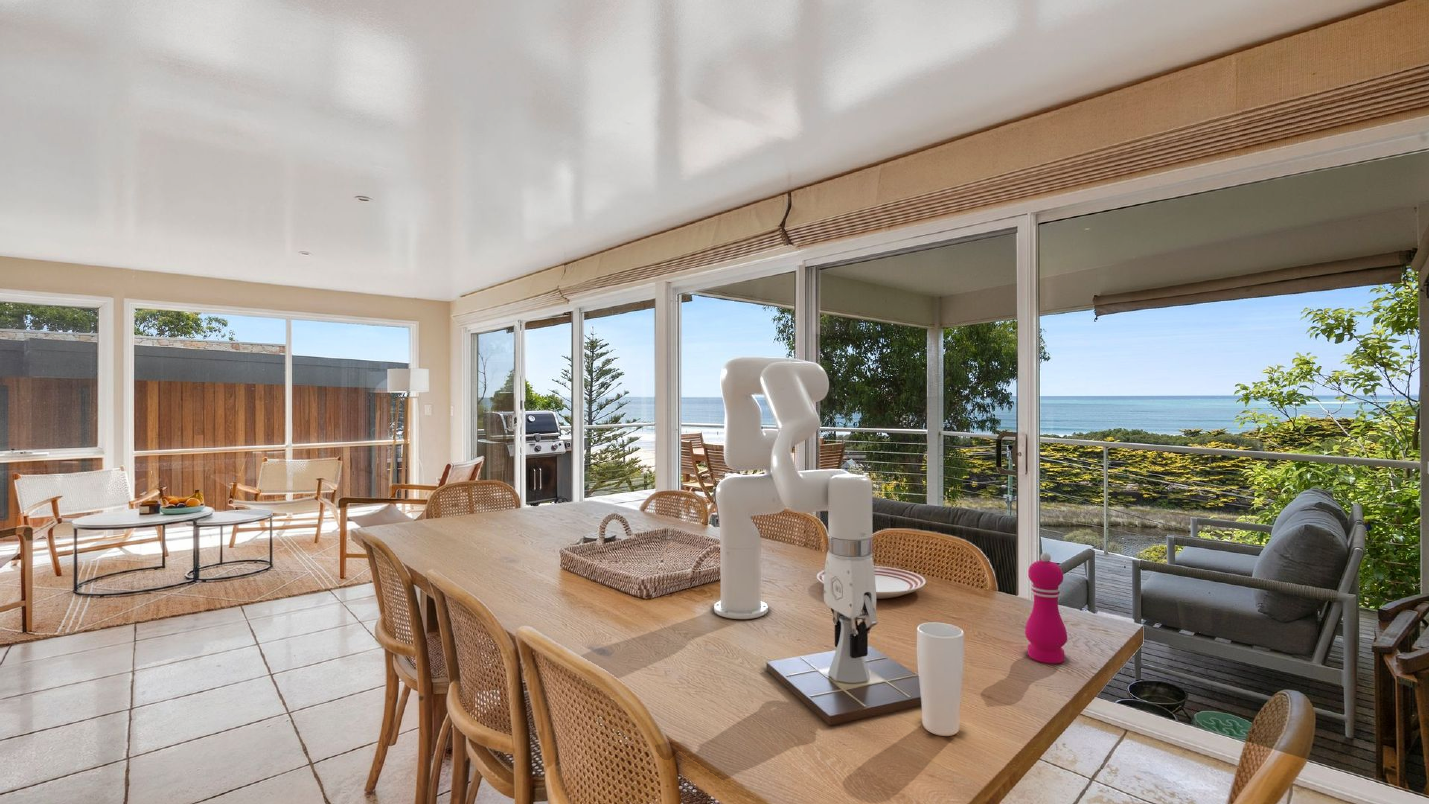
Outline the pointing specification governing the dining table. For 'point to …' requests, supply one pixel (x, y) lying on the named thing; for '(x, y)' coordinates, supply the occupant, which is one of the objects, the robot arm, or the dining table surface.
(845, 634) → the flask
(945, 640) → the drinking glass
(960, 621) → the dining table surface
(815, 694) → the board
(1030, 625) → the pepper mill
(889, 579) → the dinner plate
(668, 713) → the dining table surface
